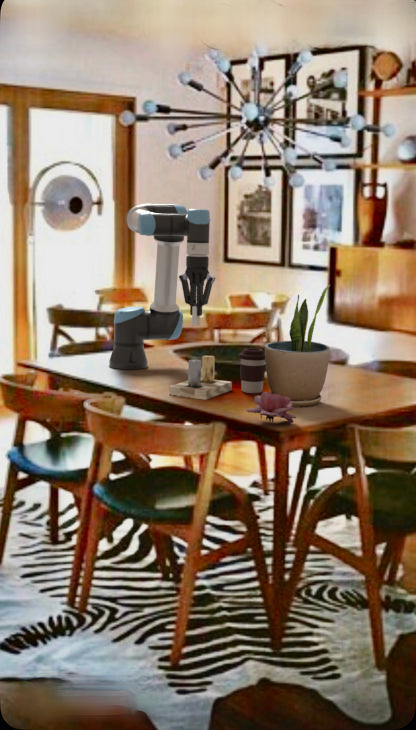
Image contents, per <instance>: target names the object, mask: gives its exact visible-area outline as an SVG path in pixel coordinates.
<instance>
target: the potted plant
mask: <svg viewBox="0 0 416 730" xmlns="http://www.w3.org/2000/svg"><path fill="white" fill-rule="evenodd" d="M330 286H331V284H329V285H327V286H325V288H324V289H323V291H322V292H321V296H319V299H318V302H317V306H316V309H315V313H314V317H313V319H312V321H311V324H310V326H309V327H308V321H309V307H308V303H307V298H305V299H304V300H303V301H302V302H301V305H300V307H299V301H300V300H299V299H300V295H299V294H297V301H296V304H295V305H296V306H295V309H294V313H293V318H292V320H291V322H290V326H289V328H290V329H289V337H290V340H283V341H274V342H270V343H268V342H267V343H266V344H265V345H264V353H265V372H266V378H267V379H266V380H267V384H268V387H269V389H270V393H271V394H278V395H281V396H284V397H285V396H286V397H288V398H290V399H291V401H290V402H289V404H290V403H292V407H294V408H297V407H298V408H299V407H300V406H303V407H311V406H315V405H316V404H318V403H319V402H320V401H322V395H321V392H322V391H323V389H324V386H325V382H326V379H327V372H328V368H329V360H330V347H329V345H327V344H324V343H320V342H316V341H312V340H313V333H314V329H315V324H316V321H317V320H316V318H317V315H318V313H319V311H320V310H321V307H322V306H323V303H324V299H325V296H326V293H327V291H328V289H329V287H330ZM307 327H308V328H309V329H308V332H307ZM306 332H307V333H306ZM306 334H307V339H306ZM305 339H306V340H305ZM300 408H301V407H300Z"/></svg>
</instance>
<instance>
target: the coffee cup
mask: <svg viewBox="0 0 416 730" xmlns="http://www.w3.org/2000/svg"><path fill="white" fill-rule="evenodd" d="M238 358H239V360H240V363H239V368H240V369H239V371H240V374H239V375H240V380H241V381H240V384H241V392H243V393H246V394H259V393H262V392H263V389H264V388H263V387H264V381H265V375H266V374H265V372H266V362H265V350H263V349H262V348H257V347H249V348H247V347H245V348H243V350H242V352H239V353H238Z"/></svg>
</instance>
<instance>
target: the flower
mask: <svg viewBox="0 0 416 730" xmlns="http://www.w3.org/2000/svg"><path fill="white" fill-rule="evenodd" d="M271 393H272V392H271V391H270V392H269V391H262V392H261V395H259V394H258V395H254V397H253V400H254V403H255V405H257V406H256V408H255V407H254V408H246V412H248V413H252V414H253V413H255V414H259V415H260V418H262V416H266V417H265V421H267V420H269V422H270V423H272V424H274V418H275V417H276V418H282V419H285V420H286V421H287V420H288V422H289V424H290V425H291V424H293V423H294V422H295V421H294V420H293V419H296V418H297V416H296V415H293V414H291V413H288V411H292V410H293V409H294V408H295V407H293V406H292V403H290V404H289V402H290V401H291V399H290V398H288V397H286V396H285V397H284V396H281V395H278V394H271Z"/></svg>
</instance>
